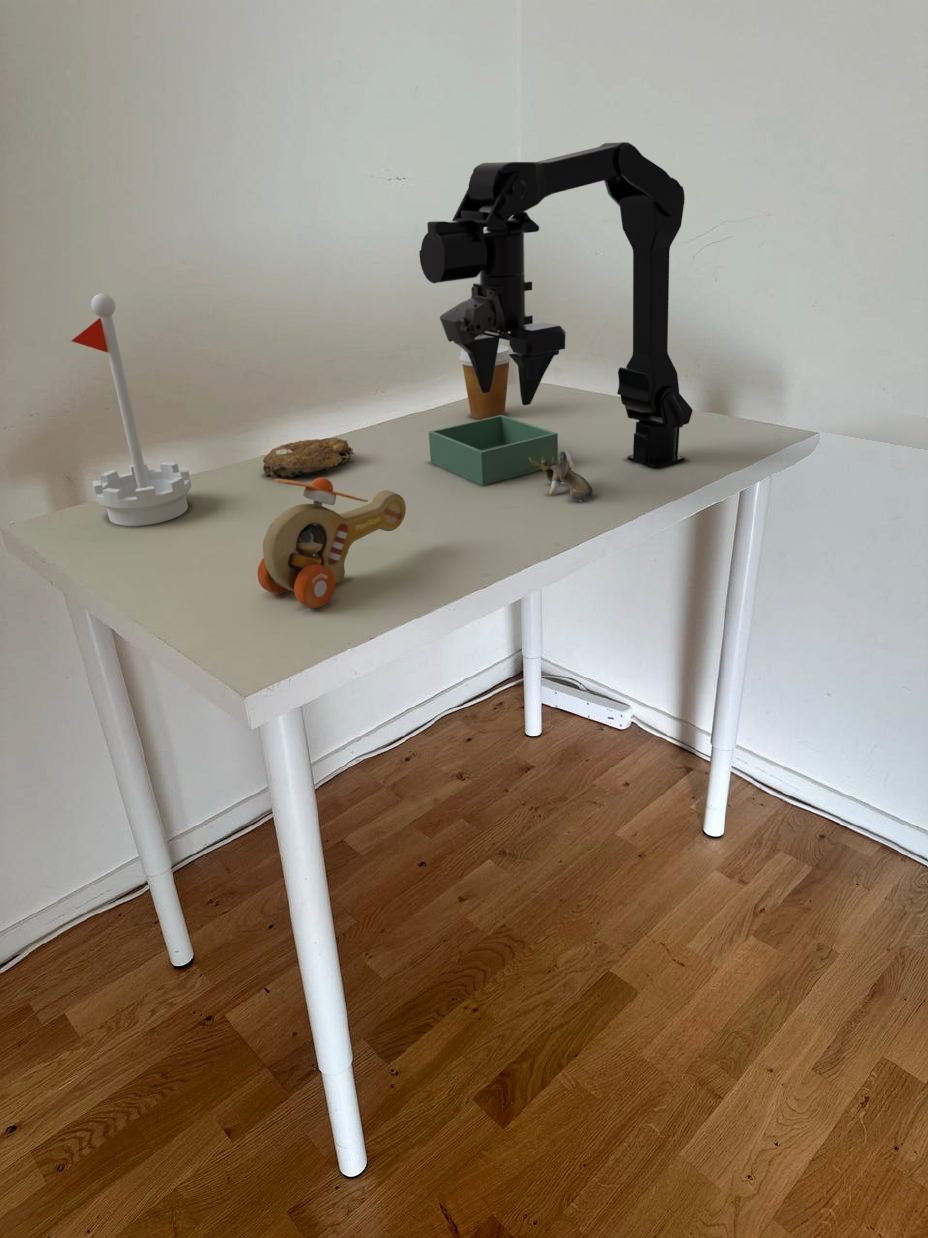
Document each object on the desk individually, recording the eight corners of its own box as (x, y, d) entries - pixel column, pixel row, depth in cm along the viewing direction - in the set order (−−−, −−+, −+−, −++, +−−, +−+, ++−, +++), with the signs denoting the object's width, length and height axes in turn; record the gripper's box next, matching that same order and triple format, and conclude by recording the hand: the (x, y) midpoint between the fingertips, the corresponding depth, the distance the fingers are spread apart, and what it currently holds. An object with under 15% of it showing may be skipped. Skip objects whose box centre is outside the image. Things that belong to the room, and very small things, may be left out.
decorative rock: (329, 451, 155) (253, 476, 146) (324, 427, 153) (247, 452, 144) (369, 461, 147) (291, 488, 138) (365, 436, 145) (286, 462, 136)
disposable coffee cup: (514, 420, 165) (512, 353, 159) (461, 423, 165) (458, 355, 160) (512, 407, 173) (510, 342, 168) (462, 409, 174) (459, 345, 168)
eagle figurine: (518, 483, 131) (553, 489, 123) (535, 437, 131) (572, 439, 123) (557, 502, 135) (594, 509, 127) (575, 457, 135) (612, 461, 127)
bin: (502, 444, 152) (501, 414, 150) (557, 465, 141) (557, 433, 139) (430, 462, 146) (428, 431, 143) (482, 485, 134) (481, 452, 132)
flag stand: (167, 490, 140) (125, 283, 126) (212, 509, 131) (171, 290, 117) (86, 514, 132) (30, 297, 118) (127, 536, 123) (72, 304, 109)
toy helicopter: (252, 600, 104) (232, 485, 97) (380, 541, 117) (370, 437, 111) (299, 619, 99) (281, 499, 92) (427, 555, 112) (420, 447, 106)
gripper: (409, 275, 117) (417, 396, 124) (492, 288, 103) (496, 423, 110) (480, 265, 122) (484, 382, 129) (568, 277, 108) (568, 407, 115)
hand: (505, 398), depth 121 cm, fingers open, 9 cm apart
